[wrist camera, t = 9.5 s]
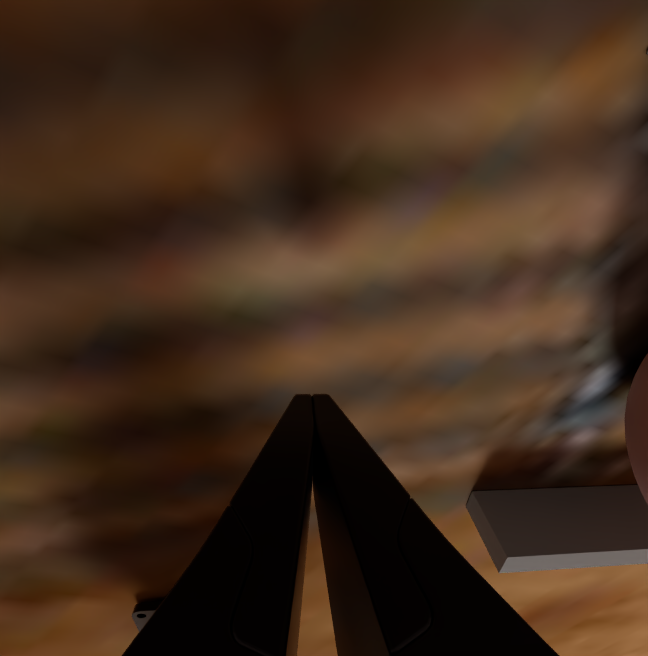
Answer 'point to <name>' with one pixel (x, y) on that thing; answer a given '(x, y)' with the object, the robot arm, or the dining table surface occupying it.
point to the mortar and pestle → (638, 427)
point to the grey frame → (562, 527)
